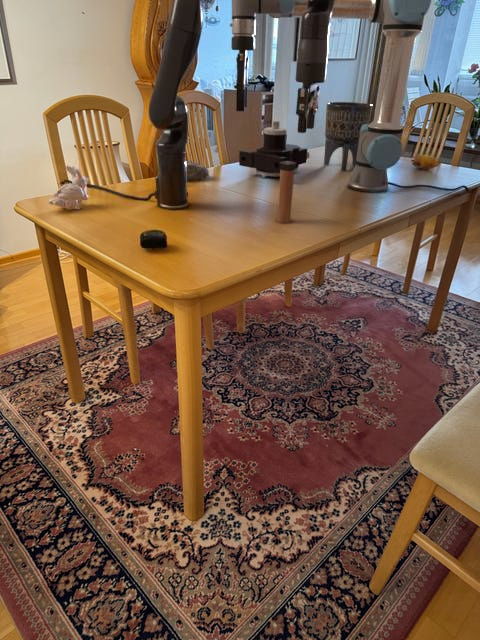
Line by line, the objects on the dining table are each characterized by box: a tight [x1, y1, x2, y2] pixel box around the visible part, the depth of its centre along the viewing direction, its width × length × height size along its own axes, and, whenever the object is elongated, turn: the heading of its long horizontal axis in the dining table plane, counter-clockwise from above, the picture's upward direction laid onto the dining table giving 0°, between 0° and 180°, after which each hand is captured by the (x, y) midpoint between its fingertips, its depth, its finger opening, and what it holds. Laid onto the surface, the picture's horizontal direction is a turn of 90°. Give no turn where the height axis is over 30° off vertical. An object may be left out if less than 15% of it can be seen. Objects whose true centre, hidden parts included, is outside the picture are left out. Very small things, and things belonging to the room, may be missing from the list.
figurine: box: [47, 165, 90, 210], centre depth 144 cm, size 8×15×13 cm, turn 145°
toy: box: [410, 154, 440, 170], centre depth 211 cm, size 11×6×15 cm
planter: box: [323, 101, 374, 172], centre depth 204 cm, size 20×20×26 cm
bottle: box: [276, 169, 295, 224], centre depth 135 cm, size 4×4×17 cm
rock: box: [186, 160, 210, 182], centre depth 182 cm, size 13×9×6 cm, turn 131°
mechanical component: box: [238, 120, 311, 178], centre depth 191 cm, size 22×21×30 cm
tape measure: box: [139, 229, 168, 250], centre depth 117 cm, size 7×7×4 cm
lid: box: [280, 161, 296, 170], centre depth 131 cm, size 5×5×2 cm
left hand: (305, 130), depth 121 cm, fingers open, 8 cm apart
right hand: (241, 109), depth 155 cm, fingers open, 13 cm apart
